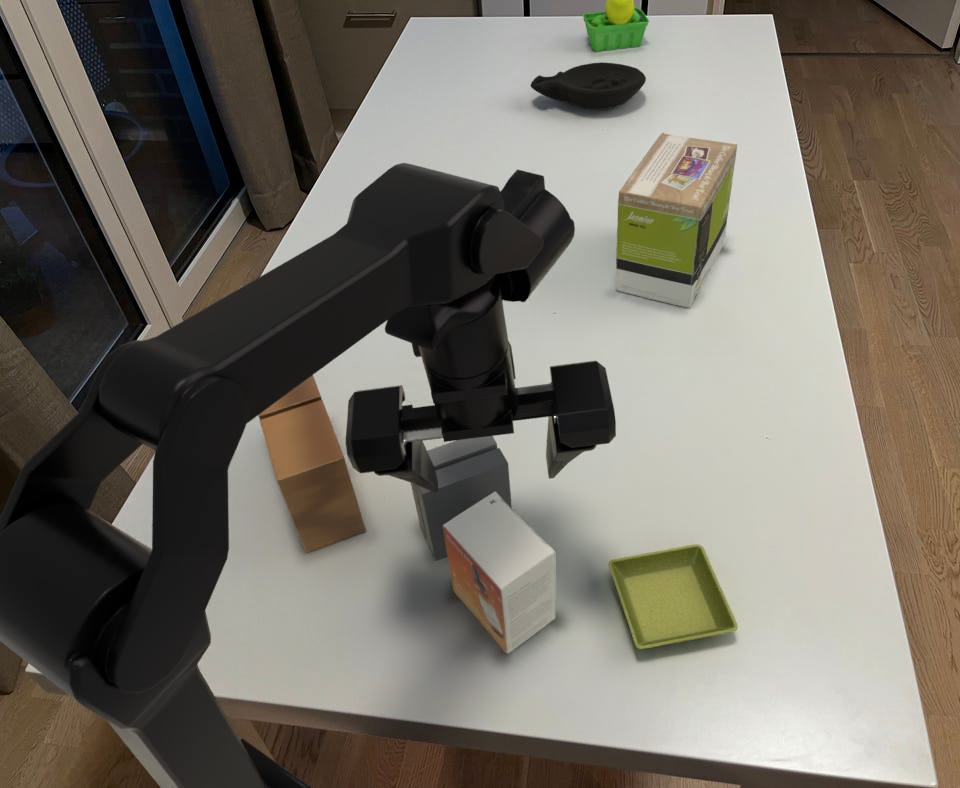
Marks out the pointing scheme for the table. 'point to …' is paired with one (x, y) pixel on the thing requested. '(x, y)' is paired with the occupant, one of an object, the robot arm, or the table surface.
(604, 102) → the oil lamp
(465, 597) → the small box
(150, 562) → the robot arm
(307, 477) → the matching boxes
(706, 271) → the tea box
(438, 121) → the table surface
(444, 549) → the grey grooved block
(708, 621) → the green square tray
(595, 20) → the fruit basket
